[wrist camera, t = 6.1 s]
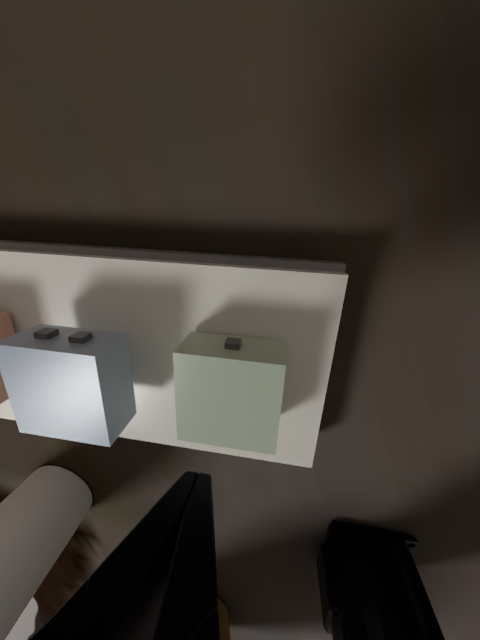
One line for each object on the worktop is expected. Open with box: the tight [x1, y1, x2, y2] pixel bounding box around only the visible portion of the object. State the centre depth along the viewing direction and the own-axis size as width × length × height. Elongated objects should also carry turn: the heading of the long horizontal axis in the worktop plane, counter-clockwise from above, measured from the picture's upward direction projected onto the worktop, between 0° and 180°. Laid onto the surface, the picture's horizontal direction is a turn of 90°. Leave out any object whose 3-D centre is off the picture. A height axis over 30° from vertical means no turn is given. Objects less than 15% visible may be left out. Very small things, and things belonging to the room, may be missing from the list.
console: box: [0, 240, 349, 468], centre depth 17 cm, size 26×12×2 cm, turn 87°
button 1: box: [173, 331, 286, 455], centre depth 13 cm, size 5×5×2 cm
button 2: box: [0, 324, 137, 447], centre depth 13 cm, size 5×5×2 cm
